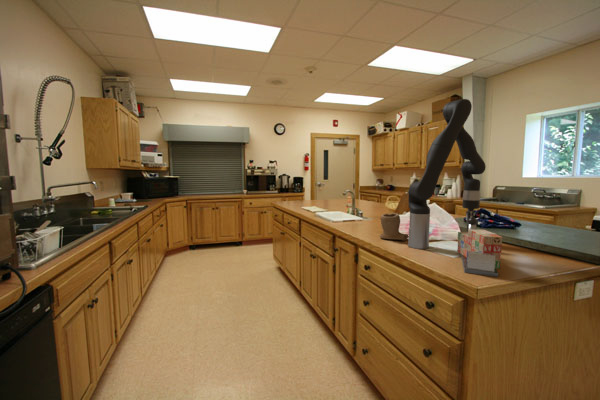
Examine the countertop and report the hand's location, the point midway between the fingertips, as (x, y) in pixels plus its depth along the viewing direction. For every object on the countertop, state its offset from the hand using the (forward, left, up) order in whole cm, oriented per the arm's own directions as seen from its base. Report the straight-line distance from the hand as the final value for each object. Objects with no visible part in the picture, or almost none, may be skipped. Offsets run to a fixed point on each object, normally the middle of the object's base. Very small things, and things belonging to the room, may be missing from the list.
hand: (469, 231), depth 138 cm
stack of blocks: (0, -36, -5) cm, 36 cm away
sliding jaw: (0, -17, -5) cm, 18 cm away
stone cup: (-37, -10, -7) cm, 39 cm away
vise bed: (0, -33, -6) cm, 34 cm away
